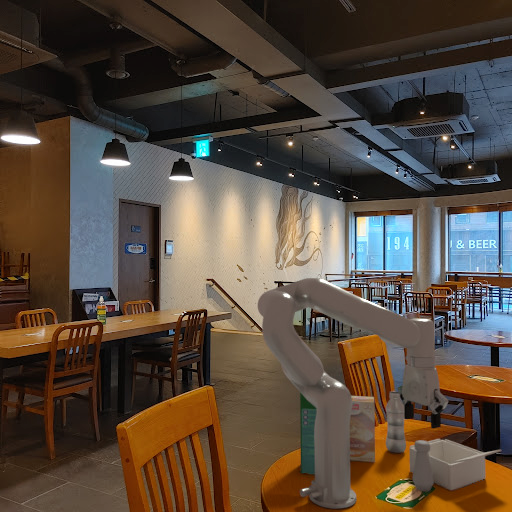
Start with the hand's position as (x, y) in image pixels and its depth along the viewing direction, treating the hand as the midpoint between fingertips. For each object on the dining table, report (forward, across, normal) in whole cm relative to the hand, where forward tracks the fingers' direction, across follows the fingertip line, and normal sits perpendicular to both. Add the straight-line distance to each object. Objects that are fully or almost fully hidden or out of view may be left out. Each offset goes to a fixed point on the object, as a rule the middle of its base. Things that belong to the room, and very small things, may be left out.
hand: (422, 422), depth 134 cm
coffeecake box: (+18, -28, -2) cm, 34 cm away
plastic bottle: (+18, -24, +14) cm, 33 cm away
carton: (+18, -2, +13) cm, 23 cm away
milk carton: (+18, -26, -18) cm, 37 cm away
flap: (+9, +8, +13) cm, 18 cm away
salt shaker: (+18, 0, 0) cm, 18 cm away
